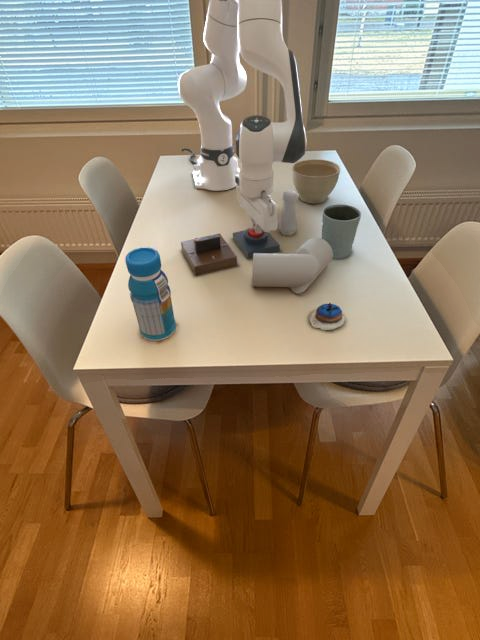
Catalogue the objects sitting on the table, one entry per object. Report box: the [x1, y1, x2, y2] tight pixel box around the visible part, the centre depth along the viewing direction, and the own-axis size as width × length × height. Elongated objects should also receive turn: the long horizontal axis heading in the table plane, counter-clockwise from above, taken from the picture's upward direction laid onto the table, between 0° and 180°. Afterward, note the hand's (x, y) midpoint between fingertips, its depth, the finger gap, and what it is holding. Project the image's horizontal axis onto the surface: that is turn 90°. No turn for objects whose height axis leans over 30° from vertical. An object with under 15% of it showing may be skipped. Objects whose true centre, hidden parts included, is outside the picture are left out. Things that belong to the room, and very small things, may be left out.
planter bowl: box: [291, 158, 342, 204], centre depth 138 cm, size 16×16×11 cm
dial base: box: [180, 233, 238, 277], centre depth 113 cm, size 14×12×3 cm
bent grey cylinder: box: [252, 236, 334, 294], centre depth 102 cm, size 18×10×20 cm
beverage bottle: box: [124, 246, 177, 342], centre depth 85 cm, size 8×8×20 cm
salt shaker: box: [278, 189, 299, 236], centre depth 119 cm, size 6×6×13 cm
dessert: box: [309, 302, 346, 331], centre depth 92 cm, size 8×7×6 cm
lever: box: [193, 233, 221, 253], centre depth 111 cm, size 7×2×4 cm, turn 111°
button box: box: [232, 227, 281, 260], centre depth 117 cm, size 12×10×4 cm
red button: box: [249, 229, 263, 237], centre depth 116 cm, size 4×4×2 cm
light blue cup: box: [320, 203, 362, 260], centre depth 111 cm, size 10×10×12 cm
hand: (256, 231), depth 115 cm, fingers closed, pressing on red button
